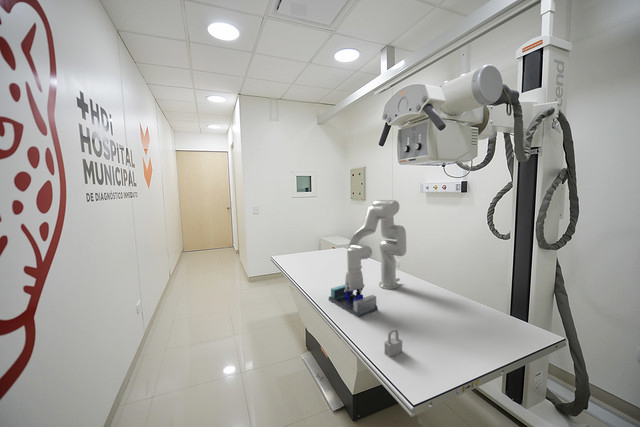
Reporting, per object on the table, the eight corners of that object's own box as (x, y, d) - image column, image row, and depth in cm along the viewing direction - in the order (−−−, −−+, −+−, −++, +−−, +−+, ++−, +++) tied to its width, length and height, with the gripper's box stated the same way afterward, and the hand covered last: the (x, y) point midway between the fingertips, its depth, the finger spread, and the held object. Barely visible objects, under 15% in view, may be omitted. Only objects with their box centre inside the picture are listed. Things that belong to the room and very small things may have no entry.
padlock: (396, 347, 111) (396, 324, 110) (403, 352, 107) (403, 329, 106) (383, 352, 107) (383, 329, 106) (390, 358, 104) (390, 334, 103)
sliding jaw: (346, 293, 165) (346, 284, 164) (349, 294, 162) (349, 285, 162) (331, 297, 158) (330, 288, 158) (334, 299, 156) (333, 290, 155)
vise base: (346, 294, 167) (346, 283, 166) (377, 310, 144) (377, 297, 143) (328, 300, 159) (328, 288, 158) (358, 317, 136) (358, 303, 136)
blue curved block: (365, 304, 145) (365, 294, 145) (359, 307, 143) (358, 296, 142) (351, 297, 155) (350, 287, 155) (345, 299, 153) (345, 289, 152)
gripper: (360, 265, 155) (361, 295, 157) (338, 270, 146) (339, 302, 148) (369, 268, 149) (370, 299, 151) (346, 274, 140) (347, 307, 141)
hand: (354, 300), depth 149 cm, fingers closed on blue curved block, 4 cm apart
